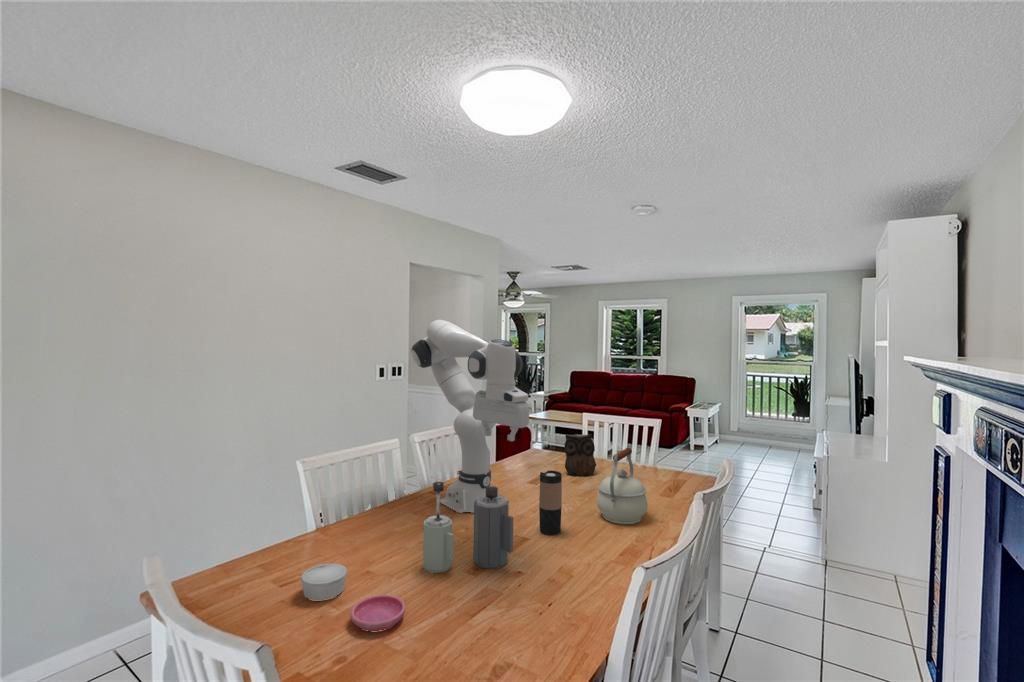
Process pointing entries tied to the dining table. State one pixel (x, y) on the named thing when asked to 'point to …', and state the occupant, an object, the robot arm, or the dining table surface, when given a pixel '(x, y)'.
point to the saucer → (378, 612)
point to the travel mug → (550, 502)
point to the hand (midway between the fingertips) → (499, 438)
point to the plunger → (491, 492)
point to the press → (492, 532)
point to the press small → (438, 544)
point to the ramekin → (323, 581)
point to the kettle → (622, 494)
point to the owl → (579, 455)
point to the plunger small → (438, 495)
